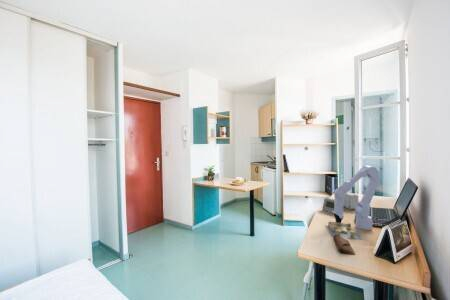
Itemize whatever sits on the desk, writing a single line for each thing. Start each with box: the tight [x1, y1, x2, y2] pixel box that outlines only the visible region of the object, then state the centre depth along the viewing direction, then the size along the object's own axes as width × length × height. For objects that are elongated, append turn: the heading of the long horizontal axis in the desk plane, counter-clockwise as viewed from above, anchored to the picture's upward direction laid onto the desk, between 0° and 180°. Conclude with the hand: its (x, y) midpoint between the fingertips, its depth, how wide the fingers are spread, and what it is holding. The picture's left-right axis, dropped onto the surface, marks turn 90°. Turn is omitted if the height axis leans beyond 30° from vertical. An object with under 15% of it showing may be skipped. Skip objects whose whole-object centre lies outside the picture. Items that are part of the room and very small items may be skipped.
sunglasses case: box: [332, 235, 356, 256], centre depth 128 cm, size 18×7×7 cm, turn 164°
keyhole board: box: [325, 224, 364, 241], centre depth 146 cm, size 18×19×4 cm
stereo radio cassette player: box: [343, 191, 359, 210], centre depth 203 cm, size 21×8×20 cm, turn 8°
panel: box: [327, 221, 354, 233], centre depth 149 cm, size 14×10×3 cm
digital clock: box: [321, 197, 335, 215], centre depth 187 cm, size 16×9×11 cm, turn 22°
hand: (338, 224), depth 156 cm, fingers closed
